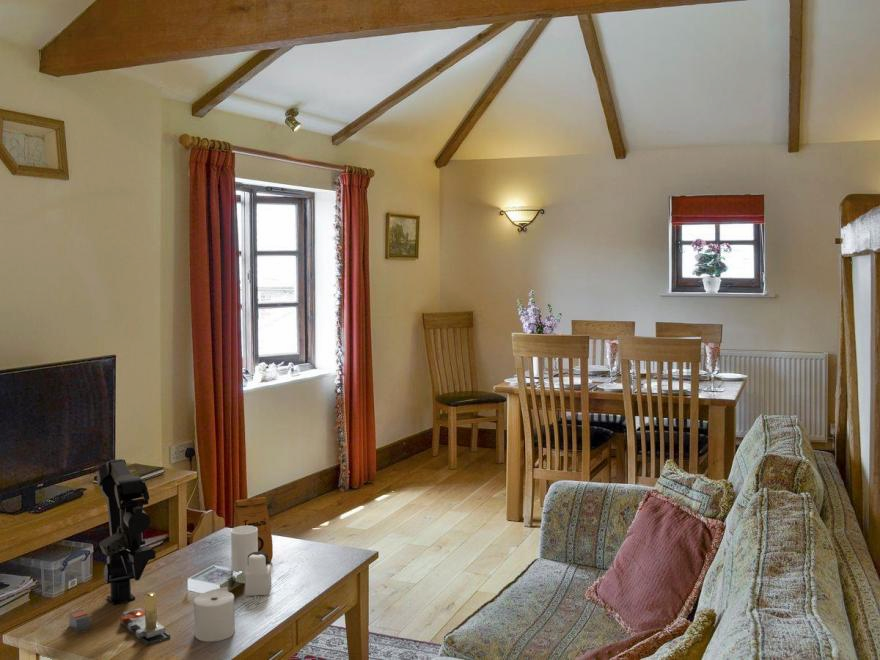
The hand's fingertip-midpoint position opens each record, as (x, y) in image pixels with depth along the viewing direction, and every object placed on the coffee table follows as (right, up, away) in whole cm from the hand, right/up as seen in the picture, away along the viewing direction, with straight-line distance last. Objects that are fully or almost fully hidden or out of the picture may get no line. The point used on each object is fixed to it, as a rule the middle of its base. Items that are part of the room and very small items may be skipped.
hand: (133, 577), depth 237 cm
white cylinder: (+24, -10, +33) cm, 42 cm away
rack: (+4, -12, -4) cm, 13 cm away
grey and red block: (-14, -13, -3) cm, 20 cm away
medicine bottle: (+30, -11, +23) cm, 39 cm away
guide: (+5, -14, -4) cm, 15 cm away
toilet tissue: (+24, -14, -5) cm, 28 cm away
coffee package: (+23, -9, +47) cm, 53 cm away
